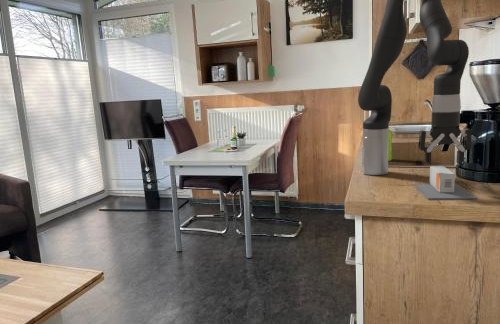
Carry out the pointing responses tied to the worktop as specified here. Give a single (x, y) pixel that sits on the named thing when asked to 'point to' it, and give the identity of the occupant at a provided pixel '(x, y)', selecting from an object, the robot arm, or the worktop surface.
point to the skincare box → (442, 179)
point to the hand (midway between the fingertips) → (443, 163)
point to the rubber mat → (436, 195)
